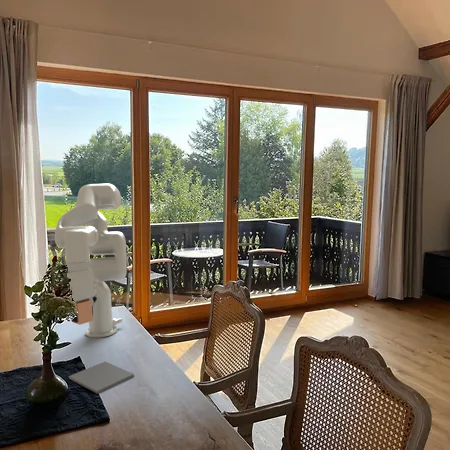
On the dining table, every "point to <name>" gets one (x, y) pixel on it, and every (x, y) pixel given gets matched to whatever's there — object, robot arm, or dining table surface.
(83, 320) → the block
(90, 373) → the mat
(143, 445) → the dining table surface
